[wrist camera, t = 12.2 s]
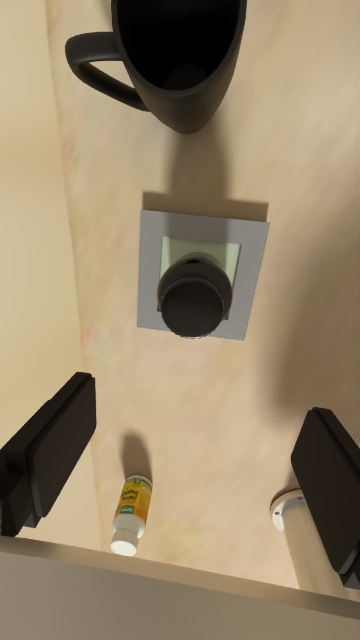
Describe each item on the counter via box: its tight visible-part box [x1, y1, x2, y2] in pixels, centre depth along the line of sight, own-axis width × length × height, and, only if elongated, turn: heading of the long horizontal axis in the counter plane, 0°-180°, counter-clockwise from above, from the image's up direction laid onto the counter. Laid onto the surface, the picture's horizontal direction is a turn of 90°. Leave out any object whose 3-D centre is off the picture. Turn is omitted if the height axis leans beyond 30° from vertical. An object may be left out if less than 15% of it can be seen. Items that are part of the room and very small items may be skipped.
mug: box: [65, 0, 247, 133], centre depth 18 cm, size 8×12×10 cm
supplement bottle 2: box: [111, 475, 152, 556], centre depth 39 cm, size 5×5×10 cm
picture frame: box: [137, 210, 270, 341], centre depth 28 cm, size 14×14×2 cm
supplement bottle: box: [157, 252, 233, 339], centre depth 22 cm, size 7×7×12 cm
